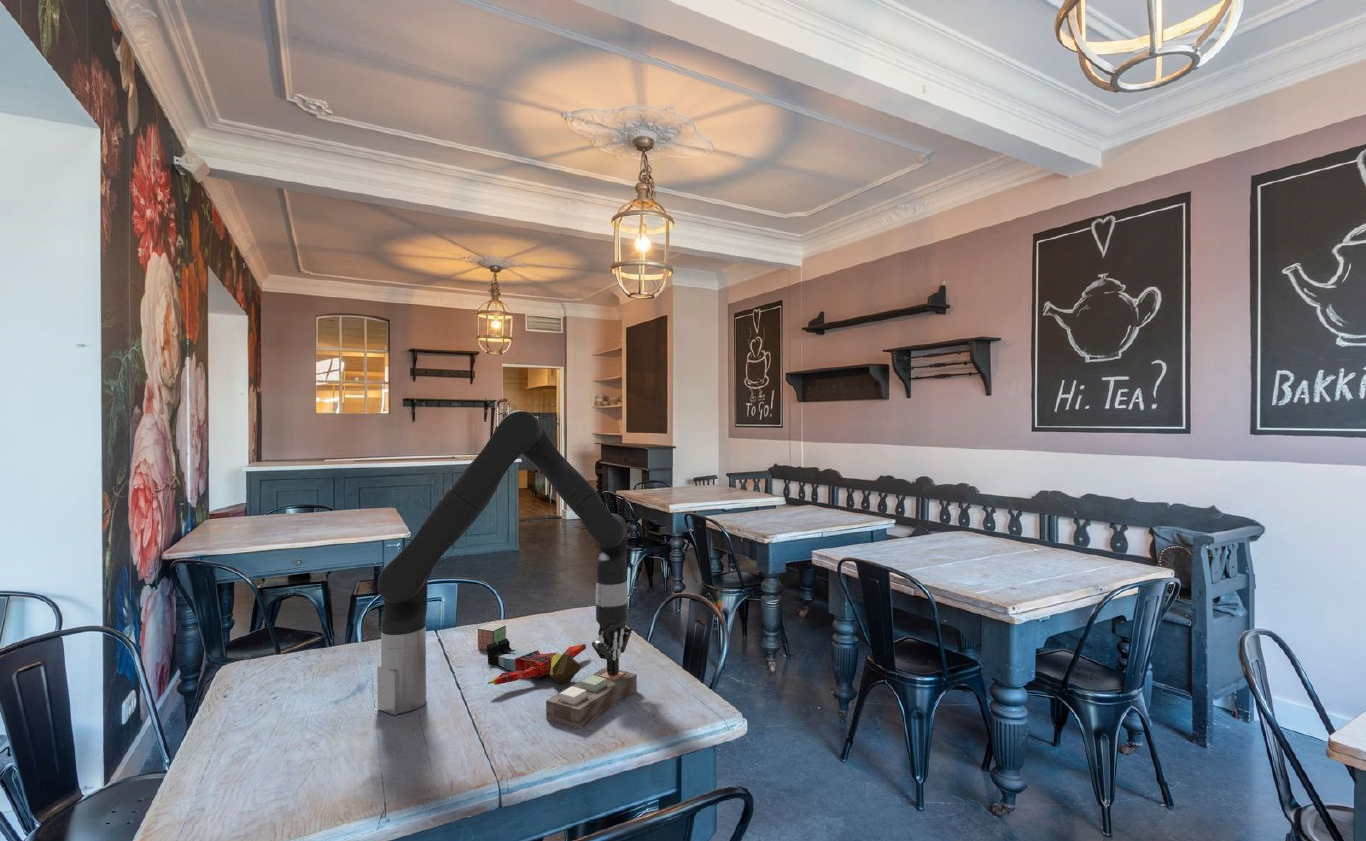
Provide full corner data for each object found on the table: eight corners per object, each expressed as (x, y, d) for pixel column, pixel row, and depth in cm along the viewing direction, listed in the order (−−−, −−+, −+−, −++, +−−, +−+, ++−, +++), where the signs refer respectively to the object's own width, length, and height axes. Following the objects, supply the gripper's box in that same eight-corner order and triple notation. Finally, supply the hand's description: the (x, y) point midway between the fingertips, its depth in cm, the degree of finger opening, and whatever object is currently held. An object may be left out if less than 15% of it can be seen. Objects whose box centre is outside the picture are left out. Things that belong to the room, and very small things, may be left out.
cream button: (574, 711, 132) (574, 697, 132) (559, 707, 134) (559, 693, 134) (586, 703, 136) (586, 690, 136) (572, 700, 138) (571, 686, 138)
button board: (579, 729, 130) (578, 709, 130) (546, 719, 134) (546, 700, 134) (636, 691, 148) (636, 674, 148) (606, 683, 152) (606, 666, 152)
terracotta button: (614, 692, 144) (614, 679, 144) (600, 688, 146) (600, 675, 146) (624, 685, 148) (624, 673, 148) (610, 682, 150) (610, 669, 150)
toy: (447, 690, 156) (524, 710, 138) (445, 659, 157) (521, 675, 139) (543, 653, 181) (619, 666, 163) (541, 626, 181) (617, 636, 163)
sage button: (595, 698, 138) (594, 685, 138) (580, 694, 140) (580, 681, 140) (606, 691, 142) (606, 678, 142) (592, 688, 144) (592, 675, 144)
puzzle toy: (506, 645, 180) (506, 625, 180) (493, 651, 175) (493, 631, 175) (490, 642, 182) (490, 622, 182) (477, 649, 177) (477, 628, 177)
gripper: (615, 591, 155) (616, 662, 155) (581, 605, 143) (582, 681, 143) (641, 595, 151) (642, 667, 151) (607, 610, 140) (608, 688, 140)
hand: (612, 674), depth 147 cm, fingers closed
